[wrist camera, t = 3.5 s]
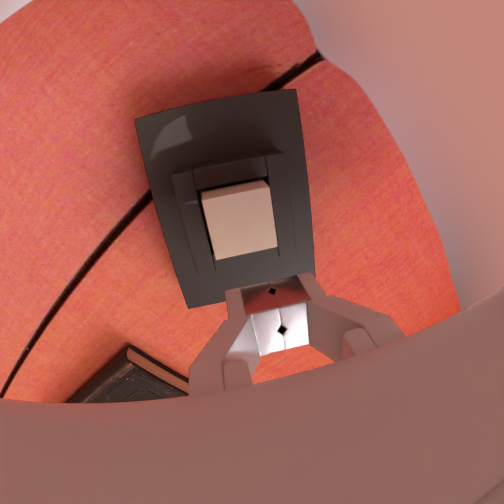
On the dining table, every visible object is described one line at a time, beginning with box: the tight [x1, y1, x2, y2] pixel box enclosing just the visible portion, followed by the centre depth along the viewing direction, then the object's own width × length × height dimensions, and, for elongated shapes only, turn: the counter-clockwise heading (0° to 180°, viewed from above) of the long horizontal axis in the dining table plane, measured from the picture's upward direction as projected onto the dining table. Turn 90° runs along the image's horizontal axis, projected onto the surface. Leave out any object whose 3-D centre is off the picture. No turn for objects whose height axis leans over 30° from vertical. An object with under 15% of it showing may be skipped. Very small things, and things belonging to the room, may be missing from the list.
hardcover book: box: [66, 346, 189, 403], centre depth 29 cm, size 16×23×2 cm
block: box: [134, 89, 315, 309], centre depth 18 cm, size 14×10×4 cm
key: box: [202, 180, 278, 260], centre depth 16 cm, size 4×4×2 cm
